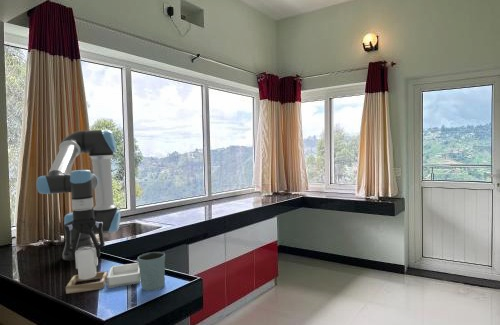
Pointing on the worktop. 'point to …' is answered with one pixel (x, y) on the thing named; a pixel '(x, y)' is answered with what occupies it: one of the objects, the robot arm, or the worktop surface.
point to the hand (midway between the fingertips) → (87, 266)
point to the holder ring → (89, 286)
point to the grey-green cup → (152, 270)
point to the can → (86, 263)
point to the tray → (123, 275)
